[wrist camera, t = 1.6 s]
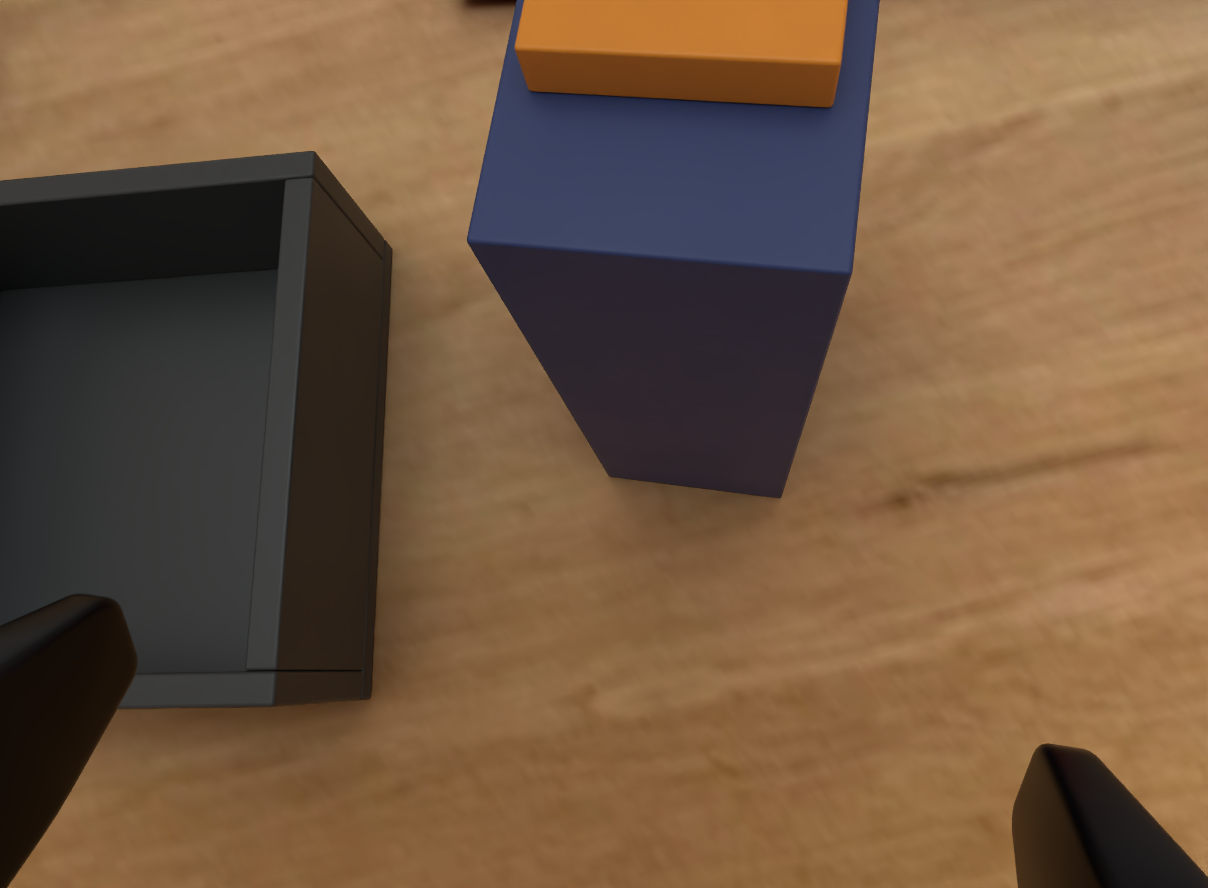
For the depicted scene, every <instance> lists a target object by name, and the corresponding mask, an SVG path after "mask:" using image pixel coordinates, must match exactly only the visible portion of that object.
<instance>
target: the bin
mask: <svg viewBox="0 0 1208 888" xmlns="http://www.w3.org/2000/svg"><path fill="white" fill-rule="evenodd" d="M391 261H392V248H391V247H390V245H389V244H388V243H387V241H386V240H384V238H383V237H382V235H381V234H380V233H379V232H378V230H377V229H376V228H375V227H374V225H373V224H372V223H371V222H370V220H369V219H368V218H367V217H366V215H365V214H364V213H363V212H362V210H361V209H360V208H359V206H358V205H357V204H356V203H355V201H354V200H353V199H352V198H351V196H350V195H349V194H348V193H347V191H346V190H345V189H344V188H343V186H342V185H341V184H340V183H339V181H338V180H337V179H336V177H335V176H334V175H333V174H332V172H331V171H330V170H329V169H328V167H327V166H326V165H325V164H324V162H323V161H322V160H321V159H320V157H319V156H318V155H317V154H316V152H314V151H306V152H296V153H285V154H275V155H264V156H254V157H243V158H233V159H223V160H212V161H202V162H191V163H181V164H170V165H160V166H149V167H139V168H129V169H118V170H108V171H97V172H87V173H76V174H66V175H55V176H45V177H35V178H24V179H14V180H3V181H0V626H1V625H3V624H5V623H8V622H10V621H12V620H14V619H17V618H19V617H21V616H23V615H26V614H28V613H30V612H33V611H35V610H37V609H39V608H42V607H44V606H46V605H48V604H51V603H53V602H55V601H57V600H60V599H62V598H64V597H66V596H69V595H72V594H80V593H83V594H90V595H96V596H103V597H109V598H112V599H114V600H115V601H116V602H118V603H119V605H120V606H121V608H122V611H123V614H124V617H125V620H126V623H127V626H128V629H129V632H130V635H131V638H132V641H133V644H134V647H135V650H136V653H137V658H138V664H137V670H136V674H135V677H134V679H133V681H132V683H131V685H130V687H129V689H128V690H127V692H126V694H125V696H124V698H123V699H122V701H121V703H120V705H119V706H118V708H117V709H165V708H242V707H279V706H292V705H304V704H317V703H329V702H341V701H354V700H367V699H370V697H371V683H372V662H373V640H374V619H375V598H376V577H377V556H378V535H379V514H380V493H381V472H382V451H383V430H384V409H385V388H386V367H387V346H388V324H389V303H390V282H391Z"/></svg>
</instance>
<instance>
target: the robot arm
mask: <svg viewBox="0 0 1208 888" xmlns="http://www.w3.org/2000/svg"><path fill="white" fill-rule="evenodd" d="M137 664H138V658H137V653H136V650H135V647H134V644H133V641H132V638H131V635H130V632H129V629H128V626H127V623H126V620H125V617H124V614H123V611H122V608H121V606H120V605H119V603H118V602H116V601H115V600H114V599H112V598H109V597H103V596H96V595H90V594H83V593H80V594H72V595H69V596H66V597H64V598H62V599H60V600H57V601H55V602H53V603H51V604H48V605H46V606H44V607H42V608H39V609H37V610H35V611H33V612H30V613H28V614H26V615H23V616H21V617H19V618H17V619H14V620H12V621H10V622H8V623H5V624H3V625H1V626H0V888H7V887H8V886H9V884H10V883H11V881H12V880H13V879H14V877H15V876H16V874H17V873H18V871H19V870H20V868H21V867H22V865H23V864H24V863H25V861H26V860H27V858H28V857H29V855H30V854H31V852H32V851H33V850H34V848H35V847H36V845H37V844H38V842H39V841H40V839H41V838H42V836H43V835H44V833H45V832H46V830H47V829H48V827H49V826H50V824H51V823H52V821H53V820H54V818H55V817H56V815H57V814H58V812H59V810H60V809H61V807H62V805H63V803H64V802H65V800H66V798H67V797H68V795H69V793H70V792H71V790H72V788H73V787H74V785H75V783H76V781H77V779H78V778H79V776H80V774H81V772H82V771H83V769H84V767H85V765H86V763H87V762H88V760H89V758H90V756H91V754H92V753H93V751H94V749H95V747H96V746H97V744H98V742H99V740H100V738H101V737H102V735H103V733H104V731H105V730H106V728H107V726H108V724H109V722H110V721H111V719H112V717H113V715H114V714H115V712H116V710H117V708H118V706H119V705H120V703H121V701H122V699H123V698H124V696H125V694H126V692H127V690H128V689H129V687H130V685H131V683H132V681H133V679H134V677H135V674H136V670H137ZM1012 834H1013V844H1014V853H1015V863H1016V873H1017V883H1018V888H1208V877H1207V875H1206V874H1205V873H1204V872H1203V871H1202V870H1201V869H1200V868H1199V867H1198V866H1197V865H1196V864H1195V862H1194V861H1193V860H1192V859H1191V858H1190V857H1189V856H1188V855H1187V854H1186V853H1185V852H1184V850H1183V849H1182V848H1181V847H1180V846H1179V845H1178V844H1177V843H1176V842H1175V841H1174V840H1173V838H1172V837H1171V836H1170V835H1169V834H1168V833H1167V832H1166V831H1165V830H1164V829H1163V828H1162V827H1161V825H1160V824H1159V823H1158V822H1157V821H1156V820H1155V819H1154V818H1153V817H1152V816H1151V815H1150V813H1149V812H1148V811H1147V810H1146V809H1145V808H1144V807H1143V806H1142V805H1141V804H1140V803H1139V801H1138V800H1137V799H1136V798H1135V797H1134V796H1133V795H1132V794H1131V793H1130V792H1129V791H1128V790H1127V788H1126V787H1125V786H1124V785H1123V784H1122V783H1121V782H1120V781H1119V780H1118V779H1117V778H1116V776H1115V775H1114V774H1113V773H1112V772H1111V771H1110V770H1109V769H1108V768H1107V767H1106V766H1105V765H1104V763H1103V762H1102V761H1101V760H1100V759H1099V758H1098V757H1097V756H1096V755H1094V754H1093V753H1091V752H1090V751H1088V750H1085V749H1081V748H1074V747H1068V746H1062V745H1055V744H1049V743H1047V744H1042V745H1040V746H1039V747H1038V748H1037V749H1036V750H1035V752H1034V753H1033V756H1032V758H1031V761H1030V763H1029V766H1028V769H1027V771H1026V774H1025V776H1024V779H1023V782H1022V784H1021V787H1020V789H1019V792H1018V795H1017V797H1016V800H1015V803H1014V807H1013V813H1012Z"/></svg>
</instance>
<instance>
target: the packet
mask: <svg viewBox="0 0 1208 888" xmlns="http://www.w3.org/2000/svg"><path fill="white" fill-rule="evenodd" d="M879 2H880V0H517V2H516V7H515V12H514V16H513V21H512V26H511V31H510V36H509V40H508V45H507V50H506V55H505V59H504V64H503V69H502V74H501V79H500V83H499V88H498V93H497V98H496V102H495V107H494V112H493V117H492V122H491V126H490V131H489V136H488V141H487V145H486V150H485V155H484V160H483V165H482V169H481V174H480V179H479V184H478V188H477V193H476V198H475V203H474V207H473V212H472V217H471V222H470V227H469V231H468V236H467V242H468V244H469V246H470V247H471V249H472V251H473V252H474V254H475V256H476V257H477V259H478V261H479V262H480V264H481V266H482V267H483V269H484V270H485V272H486V274H487V275H488V277H489V279H490V280H491V282H492V284H493V285H494V287H495V289H496V290H497V292H498V294H499V295H500V297H501V299H502V300H503V302H504V304H505V305H506V307H507V308H508V310H509V312H510V313H511V315H512V317H513V318H514V320H515V322H516V323H517V325H518V327H519V328H520V330H521V332H522V333H523V335H524V337H525V338H526V340H527V342H528V343H529V345H530V347H531V348H532V350H533V351H534V353H535V355H536V356H537V358H538V360H539V361H540V363H541V365H542V366H543V368H544V370H545V371H546V373H547V375H548V376H549V378H550V380H551V381H552V383H553V385H554V386H555V388H556V389H557V391H558V393H559V394H560V396H561V398H562V399H563V401H564V403H565V404H566V406H567V408H568V409H569V411H570V413H571V414H572V416H573V418H574V419H575V421H576V423H577V424H578V426H579V427H580V429H581V431H582V432H583V434H584V436H585V437H586V439H587V441H588V442H589V444H590V446H591V447H592V449H593V451H594V452H595V454H596V456H597V457H598V459H599V461H600V462H601V464H602V465H603V467H604V469H605V470H606V472H607V474H608V475H609V476H610V477H617V478H625V479H633V480H641V481H648V482H656V483H664V484H672V485H680V486H687V487H695V488H703V489H711V490H719V491H727V492H734V493H742V494H750V495H758V496H766V497H773V498H781V496H782V493H783V490H784V487H785V484H786V481H787V477H788V474H789V471H790V468H791V465H792V462H793V458H794V455H795V452H796V449H797V446H798V443H799V439H800V436H801V433H802V430H803V427H804V424H805V420H806V417H807V414H808V411H809V408H810V405H811V401H812V398H813V395H814V392H815V389H816V386H817V382H818V379H819V376H820V373H821V370H822V367H823V363H824V360H825V357H826V354H827V351H828V348H829V344H830V341H831V338H832V335H833V332H834V329H835V325H836V322H837V319H838V316H839V313H840V310H841V306H842V303H843V300H844V297H845V294H846V291H847V287H848V284H849V281H850V278H851V275H852V271H853V261H854V251H855V241H856V231H857V221H858V211H859V201H860V191H861V181H862V171H863V161H864V151H865V141H866V131H867V121H868V111H869V101H870V92H871V82H872V72H873V62H874V52H875V42H876V32H877V22H878V12H879Z"/></svg>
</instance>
